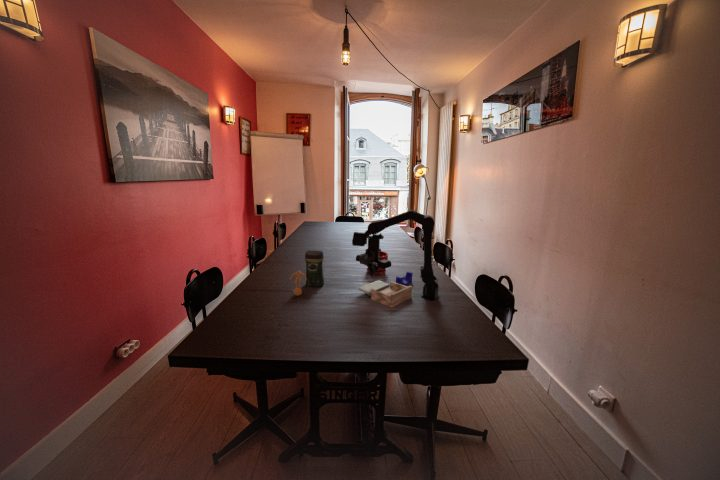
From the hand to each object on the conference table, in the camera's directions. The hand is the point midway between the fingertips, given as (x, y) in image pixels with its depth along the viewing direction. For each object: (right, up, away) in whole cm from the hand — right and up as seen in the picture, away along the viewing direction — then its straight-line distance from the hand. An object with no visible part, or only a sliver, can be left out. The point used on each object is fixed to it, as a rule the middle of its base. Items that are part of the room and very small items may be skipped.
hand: (372, 277), depth 148 cm
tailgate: (+3, -6, -2) cm, 7 cm away
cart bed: (+8, -9, -6) cm, 14 cm away
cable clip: (+17, -6, +12) cm, 22 cm away
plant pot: (+4, -1, +30) cm, 31 cm away
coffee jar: (-30, -5, +9) cm, 32 cm away
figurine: (-36, -8, -4) cm, 37 cm away
